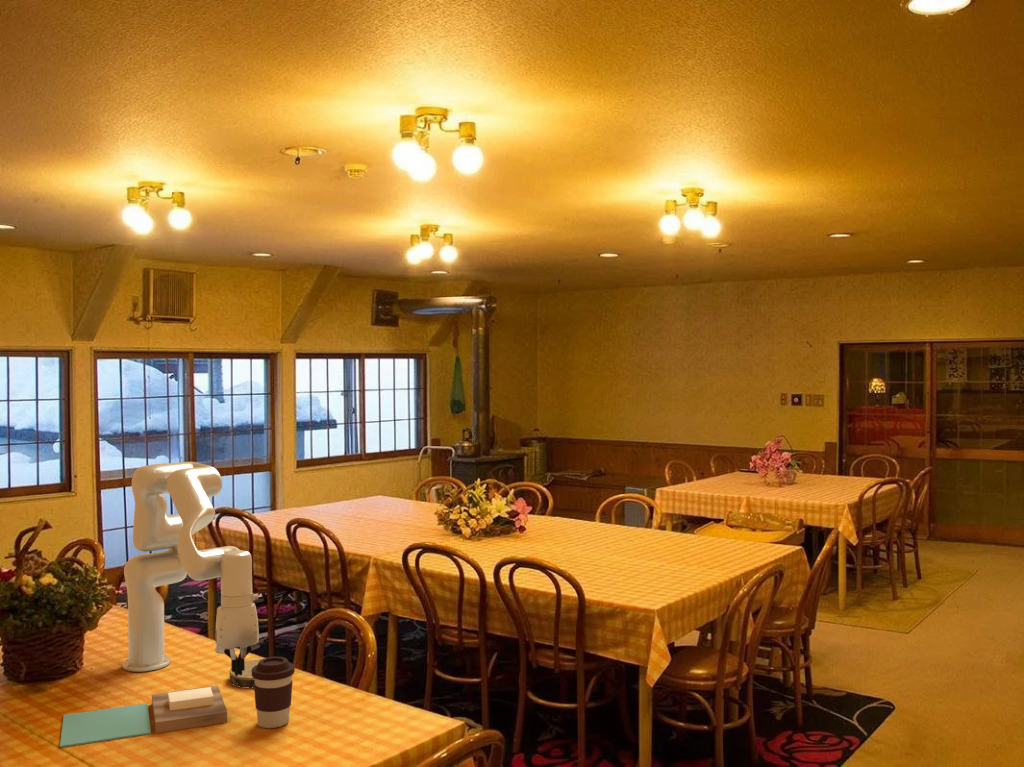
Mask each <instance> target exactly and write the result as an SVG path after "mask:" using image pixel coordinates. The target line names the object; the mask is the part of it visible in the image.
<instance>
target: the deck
mask: <svg viewBox="0 0 1024 767" xmlns="http://www.w3.org/2000/svg"><path fill="white" fill-rule="evenodd" d="M207 687H208V686H204V687H203V686H202V687H195V688H188V689H182V690H174V691H173V690H172V691H166V692H159V693H152V694H151V707H152V714H153V721H154V722H153V723H154V729H155V734H158V733H165V732H166V733H167V732H173V731H179V730H185V729H192V728H193V729H194V728H200V727H204V726H211V725H212V724H213V725H217V724H218V723H219V724H224V722H226V723H228V710H227V707H226V704H225V702H224V698H223V696H222V695H223V694H222V692H221V690H220V688H219V685H218V684H217V685H212V686H211V685H210V686H209V687H211V690H212V693H213V701H214V704H212V705H205V706H198V707H191V708H184V709H178V710H171V711H170V708H169V702H168V693H171V692H178V691H185V690H193V689H200V688H207ZM219 724H218V725H219Z"/></svg>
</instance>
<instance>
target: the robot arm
mask: <svg viewBox="0 0 1024 767" xmlns="http://www.w3.org/2000/svg"><path fill="white" fill-rule="evenodd" d="M222 487H223V479H222V477H221V474H220V472H219V471H218V469H217V468H215V467H213V466H211V465H208V464H204V463H200V462H196V461H182V462H181V461H180V462H178V461H177V462H169V463H168V462H166V463H165V462H164V463H154V464H147V465H143V466H142V465H141V466H140V467H138V468H137V469H136V470H135V471H134V473H133V474H132V479H131V489H132V493H133V498H134V511H133V525H132V526H133V527H132V544H133V547H134V549H136V550H137V551H139V552H144V554H139V555H137V556H134V557H132V558H130V559H129V560H127V562H126V563H125V565H124V568H123V575H124V581H125V586H126V593H127V616H128V617H127V620H128V621H127V624H128V625H127V627H128V630H127V631H128V632H127V634H128V635H127V638H128V641H127V642H128V650H127V651H128V652H127V653H128V659H125V661H124V662H122V669H123V670H125V671H128V672H132V673H133V672H134V673H135V672H137V673H139V672H140V673H141V672H150V671H154V670H160V669H162V668H165V667H167V666H168V665H169V664H170V663H171V658H170V656H168V655H166V654H165V602H164V599H163V597H162V596H161V594H159V592H158V591H157V590H156V588H157V587H161V586H168V585H171V584H177V583H179V582H182V581H184V580H185V578H186V577H187V576H188V577H189V578H190V579H192V580H193V581H199V582H201V581H205V580H213V579H217V578H220V594H221V595H220V606H218V607H217V609H216V617H215V618H216V620H215V643H216V645H215V648H214V649H215V650H214V651H215V654H221V655H222V654H223V655H225V656H227V657H228V658H230V659H231V660H230V661H231V666H230V669H232V672H234V674H235V676H238V675H242V671H243V670H245V664H244V662H245V658H247V656H248V655H249V654H250V652H251V651H254V650H257V649H259V648H260V647H261V645H260V641H259V640H260V632H259V631H260V630H259V620H258V612H257V607H256V604H255V602H254V601H256V600H259V594H258V593H256V594H255V593H254V592H253V573H252V572H253V566H252V565H253V559H252V554H251V553H250V552H249V551H247V550H243V549H239V548H238V547H237V546H233V545H227V546H220V547H212V548H211V547H210V548H206V549H200V550H198V548H197V547H196V545H195V543H194V542H195V541H194V539H193V535H194V534H196V533H198V532H199V531H200V530H202V529H204V528H205V527H207V526H209V524H210V523H211V522H213V520H214V519H215V517H216V510H215V508H214V506H213V504H212V502H211V500H210V498H209V497H211V498H212V497H215V496H217V495H219V494H220V493H221V492H222V489H223V488H222ZM166 494H169V496H170V499H171V500H172V502H173V505H174V508H176V511H177V513H178V514H177V513H176V514H167V511H168V502H167V500H166V497H165V495H166ZM159 550H160V552H154V551H159ZM161 550H164V551H161ZM145 552H152V553H145ZM235 648H239V654H238V655H236V650H235Z"/></svg>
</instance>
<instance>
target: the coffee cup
mask: <svg viewBox="0 0 1024 767" xmlns="http://www.w3.org/2000/svg"><path fill="white" fill-rule="evenodd" d="M261 659H262V660H260V661H259V662H258V665H256V666H254V667H253V668H252V677H253V678H254V679H255V683H254V688H253V691H254V703H255V710H256V716H257V718H256V719H257V720H256V721H257V725H258V726H259V727H260V728H264V729H277V727H278V728H281V727H284V726H286V725H287V724H288V723H289V722H290V710H291V705H292V693H293V675H294V674H295V671H296V670H295V667H296V666H295V664H294V663H292V662H290V661H289V660H288V658H286V657H284V656H269V657H265V658H261ZM285 724H286V725H285ZM283 725H284V726H283Z"/></svg>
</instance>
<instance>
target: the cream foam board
mask: <svg viewBox="0 0 1024 767" xmlns="http://www.w3.org/2000/svg"><path fill="white" fill-rule="evenodd" d="M206 687H207V688H202V687H199V688H200V689H195V688H192V689H193V690H187V689H184V690H185V691H180V690H177V691H178V692H173V691H170V692H171V693H168V702H169V708H170V711H171V710H178V709H184V708H191V707H198V706H205V705H212V704H214V701H213V693H212V690H211V687H210V686H206Z"/></svg>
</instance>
